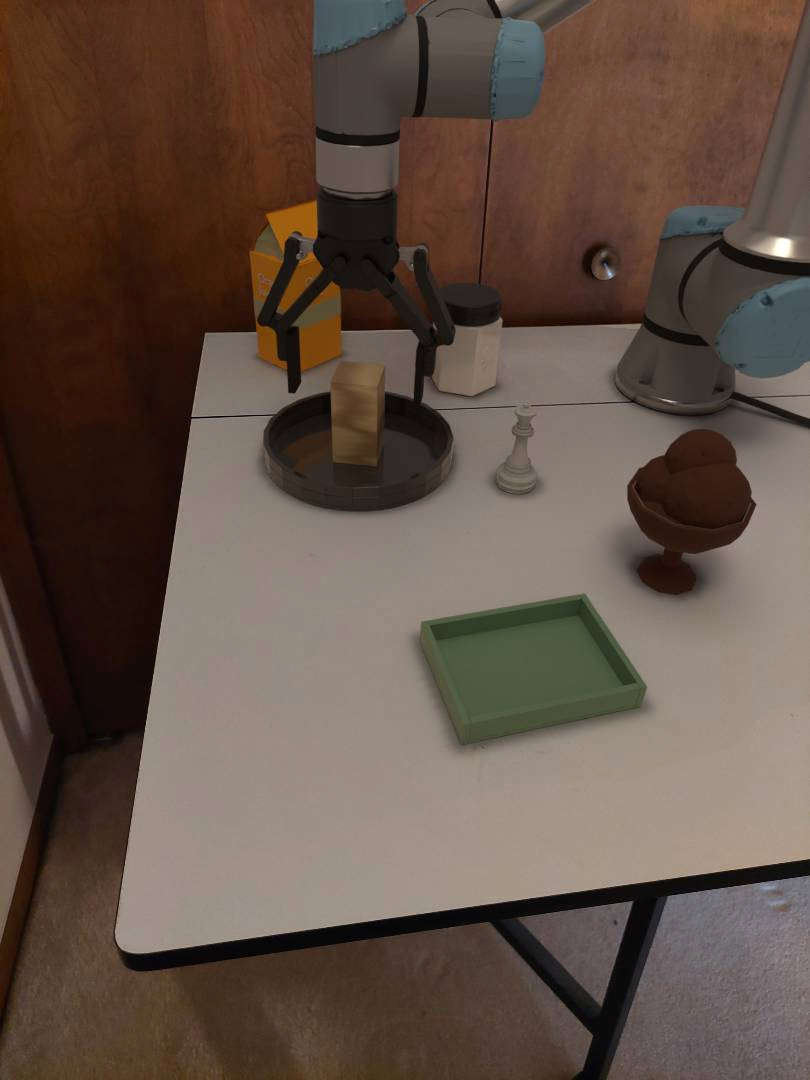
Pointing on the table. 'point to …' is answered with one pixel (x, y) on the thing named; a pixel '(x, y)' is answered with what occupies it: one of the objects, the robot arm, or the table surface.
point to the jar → (470, 339)
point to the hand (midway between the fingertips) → (356, 394)
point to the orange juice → (295, 288)
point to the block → (358, 413)
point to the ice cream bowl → (689, 505)
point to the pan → (311, 475)
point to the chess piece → (519, 456)
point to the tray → (528, 667)
